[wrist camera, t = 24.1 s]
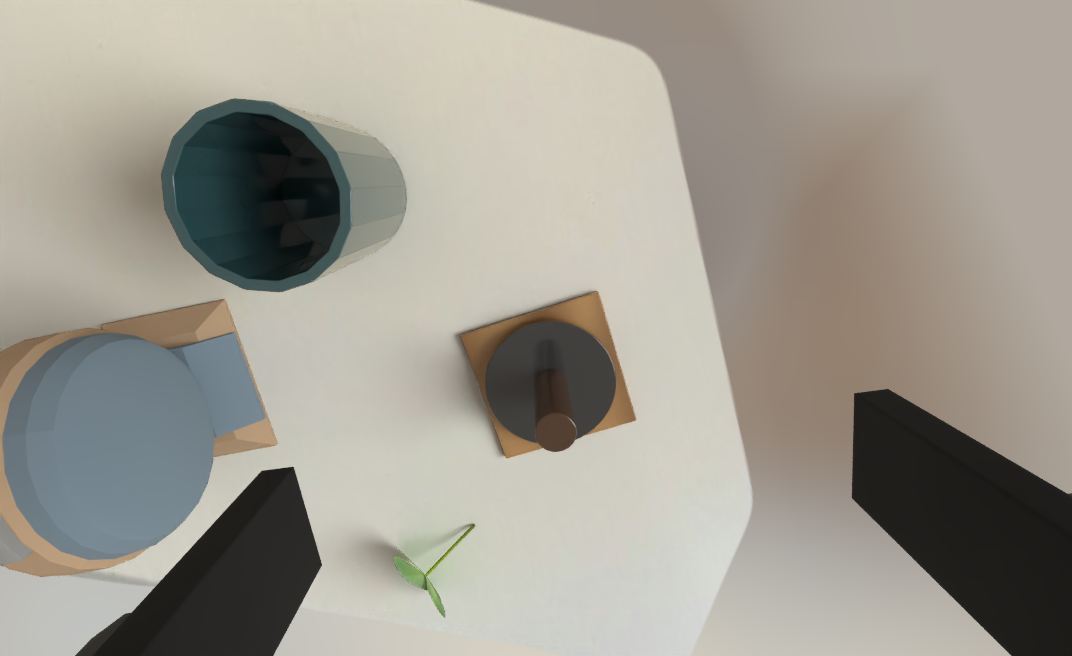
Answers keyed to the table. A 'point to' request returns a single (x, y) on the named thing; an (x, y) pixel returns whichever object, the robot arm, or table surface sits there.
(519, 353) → the lid
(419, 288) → the table surface
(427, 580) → the seedling
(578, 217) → the table surface
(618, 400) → the mat
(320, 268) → the jar
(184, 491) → the alarm clock
